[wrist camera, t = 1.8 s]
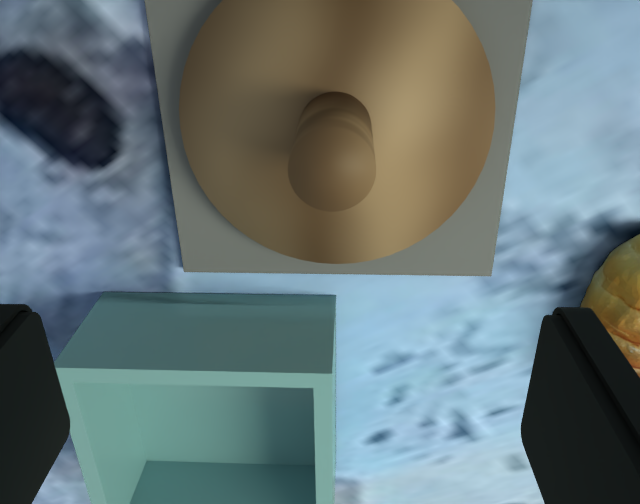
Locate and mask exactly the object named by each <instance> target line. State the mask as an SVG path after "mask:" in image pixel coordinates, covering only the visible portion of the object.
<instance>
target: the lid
mask: <svg viewBox="0 0 640 504" xmlns="http://www.w3.org/2000/svg"><path fill="white" fill-rule="evenodd" d="M179 117H180V129H181V134H182V139H183V144H184V149H185V152H186V155H187V158H188V161H189V164H190V167H191V169H192V171H193V173H194V175H195V177H196V179H197V181H198V183H199V185H200V186H201V188H202V189H203V191H204V193H205V194H206V196H207V197H208V199H209V200H210V201H211V203H212V204H213V205H214V206H215V207H216V209H217V210H218V211H219V212H220V213H221V214H222V215H223V216H224V217H225V218H226V219H227V220H228V221H229V222H230V223H231V224H232V225H233V226H234V227H235V228H237V229H238V230H239V231H241V232H242V233H244V234H245V235H246V236H248V237H249V238H250V239H252V240H254V241H256V242H257V243H259V244H261V245H263V246H264V247H266V248H269V249H271V250H273V251H276V252H278V253H280V254H283V255H286V256H289V257H292V258H296V259H299V260H304V261H310V262H315V263H327V264H348V263H358V262H364V261H371V260H375V259H378V258H382V257H385V256H389V255H391V254H394V253H396V252H399V251H401V250H404V249H406V248H408V247H410V246H412V245H413V244H415V243H417V242H419V241H421V240H422V239H424V238H425V237H427V236H428V235H429V234H431V233H432V232H433V231H435V230H436V229H438V228H439V227H440V226H441V225H442V224H443V223H444V222H445V221H446V220H447V219H449V218H450V217H451V216H452V215H453V214H454V212H455V211H456V210H457V209H458V208H459V207H460V205H461V204H462V203H463V202H464V201H465V199H466V198H467V196H468V194H469V193H470V191H471V190H472V188H473V187H474V185H475V184H476V182H477V180H478V177H479V175H480V173H481V171H482V169H483V167H484V165H485V162H486V159H487V156H488V153H489V150H490V146H491V141H492V136H493V131H494V123H495V93H494V84H493V79H492V74H491V69H490V65H489V62H488V59H487V57H486V54H485V51H484V48H483V46H482V43H481V42H480V40H479V38H478V36H477V34H476V32H475V30H474V28H473V27H472V25H471V23H470V22H469V21H468V19H467V18H466V17H465V15H464V14H463V13H462V11H461V10H460V8H459V7H458V6H457V5H456V4H455V3H454V2H453V1H452V0H222V2H221V3H220V4H219V5H218V6H217V7H216V8H215V9H214V10H213V12H212V13H211V14H210V16H209V17H208V19H207V20H206V22H205V23H204V24H203V26H202V27H201V29H200V31H199V33H198V35H197V37H196V39H195V41H194V43H193V45H192V47H191V49H190V52H189V55H188V58H187V61H186V64H185V67H184V71H183V76H182V81H181V86H180V99H179Z"/></svg>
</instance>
